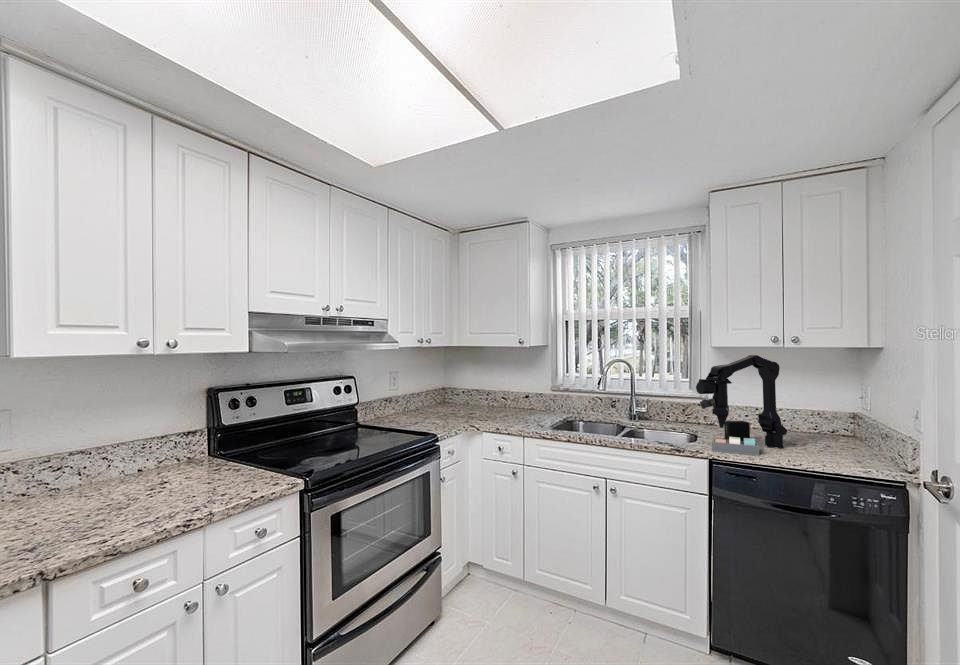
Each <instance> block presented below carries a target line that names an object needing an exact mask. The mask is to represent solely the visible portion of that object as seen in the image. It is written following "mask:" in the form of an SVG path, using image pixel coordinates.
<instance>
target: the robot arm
mask: <svg viewBox="0 0 960 665" xmlns="http://www.w3.org/2000/svg"><path fill="white" fill-rule="evenodd" d="M751 366H752V367H753V368H755V369H757V371H758V375H759V377H760V379H762V380H761V381H762V402H763V404H762V406H763V407H762V408H763V410H762V412H761V414H760V413H759V414H757V416H758V420H757V421H758V422H757V423H758V424H759V426H760V428H761V430H762V433H763V432H764V433H765V435H764V444H765V445H767V446H768V447H767V446H766V447H767V448H774V447H778V448H777V449H785V447H784V436H785V435H788V434H787V433H788V429H787V428H786V427H785V426H784V425H782V420H781V417H780V415H779V414H778V412H777V401H776V400H777V398H776V396H777V394H776V380H777V378H778V377H779V375H780V365H779V363H778V362H776V361H772V360H769V359H767V358H764V357H761V356H760V355H756V354H748V355H747V356H745V357H742V358H740V359H738V360H735V361H732V362H730V363H727V364H718V365H713V366H711V368H710V371H709V373H708V374H707V376H706V377H705V379H704V378H703V379H702V378H699V379H698V382H697V383H696V386H695V390H696V392H697V394H699V395H712V394H713V395H712V398H709V399H708V398H707V399H706V398H705V399H702V400H701V401H699V404H700V406H701V408H702V410H704V409H706V408H711V407H712V410H711V412H712V415H715V416H716V418H717V420H718V424H719V428H720V429H723V428H724V424H725V421H727V418H728V416H729V415H730V414H729V410H730V405H729V400H728V399H729V398H728V384H729V385H731V384H733V382H732V381H731V380H730V379H729V378H730V377H731V376H733V374H734V373H735V372H738V371H741V370H744V369H746V368H748V367H751Z"/></svg>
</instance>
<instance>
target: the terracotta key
mask: <svg viewBox="0 0 960 665" xmlns="http://www.w3.org/2000/svg"><path fill="white" fill-rule="evenodd" d="M715 439H716V440H715V442H720V443H726V440H725V439H724V440H721V438H715Z"/></svg>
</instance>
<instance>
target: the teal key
mask: <svg viewBox="0 0 960 665" xmlns="http://www.w3.org/2000/svg"><path fill="white" fill-rule="evenodd" d="M755 442H756V439H755V438H751V437H750V438H744V445H753V446H755Z"/></svg>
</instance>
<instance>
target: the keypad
mask: <svg viewBox="0 0 960 665" xmlns="http://www.w3.org/2000/svg"><path fill="white" fill-rule="evenodd" d="M716 439H717V438H712V439H711V452H714V451H715V452H716V453H726V454H737V455H744V456H754V455H759V456H760V446H759V442H756V441H755V446H753V445H744V441H740V444H731V443H729V440H726V443H720V442H715V440H716ZM720 439H721V438H720ZM721 440H725V438H724V439H723V438H722V439H721Z"/></svg>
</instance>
